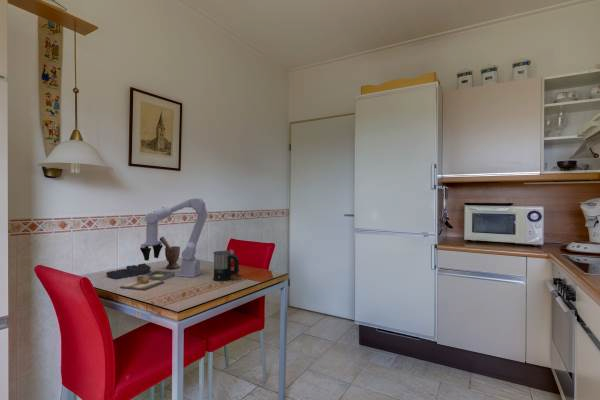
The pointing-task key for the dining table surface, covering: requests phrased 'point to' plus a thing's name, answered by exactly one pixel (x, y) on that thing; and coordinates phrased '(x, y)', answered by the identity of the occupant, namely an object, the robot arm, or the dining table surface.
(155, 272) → the dish
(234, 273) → the milk frother
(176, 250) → the mortar and pestle
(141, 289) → the mat
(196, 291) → the dining table surface
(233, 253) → the food container
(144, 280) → the lid
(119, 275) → the dark slate chunk
